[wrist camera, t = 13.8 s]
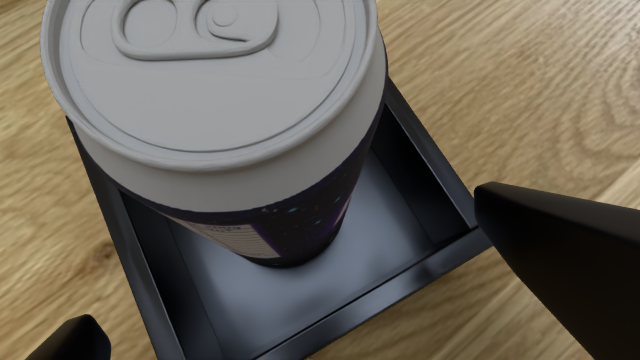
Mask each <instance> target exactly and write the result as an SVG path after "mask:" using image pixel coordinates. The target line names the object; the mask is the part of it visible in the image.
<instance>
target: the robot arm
mask: <svg viewBox="0 0 640 360" xmlns="http://www.w3.org/2000/svg"><path fill="white" fill-rule="evenodd" d="M474 215H475V219H476V222H477V224H478V225H479V227H480V228H481V229H482V231H483V232H484V233H485V235H486V236H487V237H488V239H489V240H490V241H491V243H492V244H493V245H494V247H495V248H496V249H497V251H498V252H499V253H500V255H501V256H502V257H503V259H504V260H505V261H506V263H507V264H508V265H509V267H510V268H511V269H512V270H513V272H514V273H515V274H516V275H517V276H518V277H519V279H520V280H521V281H522V282H523V283H524V284H525V285H526V286H527V287H528V288H529V289H530V291H531V292H532V293H533V294H534V295H535V296H536V297H537V298H538V299H539V300H540V301H541V302H542V303H543V305H544V306H545V307H546V308H547V309H548V310H549V311H550V312H551V313H552V314H553V315H554V316H555V317H556V319H557V320H558V321H559V322H560V323H561V324H562V325H563V326H564V327H565V328H566V329H567V330H568V331H569V332H570V334H571V335H572V336H573V337H574V338H575V339H576V340H577V341H578V342H579V343H580V344H581V345H582V346H583V348H584V349H585V350H586V351H587V352H588V353H589V354H590V355H591V356H592V357H593V358H594V359H595V360H640V210H637V209H632V208H627V207H622V206H617V205H611V204H606V203H601V202H596V201H591V200H586V199H580V198H575V197H570V196H565V195H560V194H555V193H549V192H544V191H539V190H534V189H529V188H524V187H518V186H513V185H508V184H503V183H498V182H488V183H485V184H482V185H479V186H477V187H476V188H475V190H474ZM110 357H111V343H110V340H109V338H108V337H107V335H106V334H105V332H104V331H103V330H102V328H101V327H100V326H99V324H98V323H97V321H96V320H95V319H94V318H93V317H92V316H91V315H89V314H84V315H81V316H78V317H75V318H72V319H69V320H67V321H66V322H64V323H63V324H62V325H61V326H60V327H59V328H58V329H57V330H56V331H55V332H54V333H53V334H52V335H51V336H49V337H48V338H47V339H46V340H45V341H44V342H43V343H42V344H41V345H40V346H39V347H38V348H37V349H36V350H34V351H33V352H32V353H31V354H30V355H29V356H28V357H27V358H26V359H25V360H110Z"/></svg>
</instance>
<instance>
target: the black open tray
mask: <svg viewBox="0 0 640 360" xmlns="http://www.w3.org/2000/svg"><path fill="white" fill-rule="evenodd" d="M65 117H66V120H67V122H68V125H69V127H70V130H71V132H72V135H73V137H74V140H75V143H76V145H77V148H78V151H79V153H80V156H81V159H82V161H83V164H84V166H85V169H86V172H87V174H88V177H89V180H90V182H91V185H92V187H93V190H94V193H95V195H96V198H97V201H98V203H99V206H100V209H101V211H102V214H103V216H104V219H105V222H106V224H107V227H108V230H109V232H110V235H111V238H112V240H113V243H114V245H115V248H116V251H117V253H118V256H119V259H120V261H121V264H122V266H123V269H124V272H125V274H126V277H127V280H128V282H129V285H130V288H131V290H132V293H133V295H134V298H135V301H136V303H137V306H138V309H139V311H140V314H141V317H142V319H143V322H144V324H145V327H146V330H147V332H148V335H149V338H150V340H151V343H152V346H153V348H154V351H155V353H156V356H157V359H158V360H305V359H306V358H308V357H310V356H311V355H313V354H315V353H316V352H318V351H320V350H321V349H323V348H325V347H326V346H328V345H330V344H331V343H333V342H335V341H336V340H338V339H340V338H341V337H343V336H345V335H346V334H348V333H350V332H351V331H353V330H355V329H356V328H358V327H359V326H361V325H363V324H364V323H366V322H368V321H369V320H371V319H373V318H374V317H376V316H378V315H379V314H381V313H383V312H384V311H386V310H388V309H389V308H391V307H393V306H394V305H396V304H398V303H399V302H401V301H403V300H404V299H406V298H408V297H409V296H411V295H413V294H414V293H416V292H417V291H419V290H421V289H422V288H424V287H426V286H427V285H429V284H431V283H432V282H434V281H436V280H437V279H439V278H441V277H442V276H444V275H446V274H447V273H449V272H451V271H452V270H454V269H456V268H457V267H459V266H461V265H462V264H464V263H466V262H467V261H469V260H471V259H472V258H474V257H475V256H477V255H479V254H480V253H482V252H484V251H485V250H487V249H489V248H490V247H492V246H494V245H493V244H492V243H491V241H490V240H489V239H488V237H487V236H486V235H485V233H484V232H483V231H482V229H481V228H480V227H479V225H478V224H477V222H476V219H475V215H474V198H473V197H472V195H471V194H470V192H469V191H468V189H467V188H466V187H465V185H464V184H463V182H462V181H461V179H460V178H459V177H458V175H457V174H456V172H455V171H454V169H453V168H452V166H451V165H450V164H449V162H448V161H447V159H446V158H445V156H444V155H443V154H442V152H441V151H440V149H439V148H438V146H437V145H436V143H435V142H434V141H433V139H432V138H431V136H430V135H429V133H428V132H427V130H426V129H425V128H424V126H423V125H422V123H421V122H420V120H419V119H418V118H417V116H416V115H415V113H414V112H413V110H412V109H411V107H410V106H409V105H408V103H407V102H406V100H405V99H404V97H403V96H402V95H401V93H400V92H399V90H398V89H397V87H396V86H395V84H394V83H393V82H392V80H391V79H390V77H389V76H388V88H387V94H386V100H385V104H384V107H383V111H382V114H381V117H380V119H379V122H378V125H377V128H376V131H375V133H374V136H373V139H372V142H371V145H370V147H369V150H368V153H367V156H366V158H365V161H364V164H363V167H362V170H361V172H360V175H359V178H358V181H357V184H356V186H355V189H354V192H353V195H352V198H351V200H350V203H349V206H348V209H347V212H346V214H345V217H344V220H343V223H342V225H341V228H340V230H339V232H338V234H337V235H336V237H335V238H334V240H333V241H332V242H331V244H330V245H329V246H328V247H327V248H326V249H325V250H324V251H323V252H322V253H320V254H319V255H318V256H316V257H314V258H313V259H311V260H309V261H307V262H305V263H302V264H299V265H296V266H291V267H284V268H272V267H265V266H261V265H258V264H255V263H252V262H250V261H248V260H246V259H244V258H243V257H241V256H239V255H237V254H235V253H233V252H231V251H230V250H228V249H226V248H224V247H222V246H220V245H218V244H217V243H215V242H213V241H211V240H209V239H207V238H205V237H204V236H202V235H200V234H198V233H196V232H194V231H192V230H191V229H189V228H187V227H185V226H183V225H181V224H179V223H178V222H176V221H174V220H172V219H170V218H168V217H166V216H165V215H163V214H161V213H159V212H157V211H155V210H154V209H152V208H150V207H148V206H146V205H144V204H142V203H141V202H139V201H137V200H135V199H133V198H132V197H130V196H129V195H127V194H125V193H124V192H122V191H121V190H120V189H118V188H117V187H116V186H114V185H113V184H112V183H111V182H110V181H109V180H108V179H107V178H106V177H104V175H103V174H102V173H101V172H100V171H99V170H98V169H97V168H96V166H95V165H94V164H93V163H92V161H91V160H90V159H89V157H88V155H87V154H86V152H85V150H84V149H83V147H82V145H81V143H80V141H79V139H78V136H77V134H76V131H75V128H74V125H73V123H72V121H71V120H70V119H69V118H68V116H67V115H66V116H65Z"/></svg>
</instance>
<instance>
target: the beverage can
mask: <svg viewBox="0 0 640 360" xmlns="http://www.w3.org/2000/svg"><path fill="white" fill-rule="evenodd" d="M40 52H41V61H42V65H43V69H44V73H45V77H46V80H47V82H48V84H49V86H50V88H51V90H52V93H53V95H54V97H55V99H56V101H57V102H58V104H59V105H60V107H61V108H62V110H63V111H64V112H65V114H66V115H67V116H68V118H69V119H70V120H71V121H72V123H73V125H74V128H75V131H76V134H77V136H78V139H79V141H80V143H81V145H82V147H83V149H84V150H85V152H86V154H87V155H88V157H89V159H90V160H91V161H92V163H93V164H94V165H95V166H96V168H97V169H98V170H99V171H100V172H101V173H102V174H103V175H104V177H106V178H107V179H108V180H109V181H110V182H111V183H112V184H113V185H114V186H116V187H117V188H118V189H120V190H121V191H122V192H124V193H125V194H127V195H129V196H130V197H132V198H133V199H135V200H137V201H139V202H141V203H142V204H144V205H146V206H148V207H150V208H152V209H154V210H155V211H157V212H159V213H161V214H163V215H165V216H166V217H168V218H170V219H172V220H174V221H176V222H178V223H179V224H181V225H183V226H185V227H187V228H189V229H191V230H192V231H194V232H196V233H198V234H200V235H202V236H204V237H205V238H207V239H209V240H211V241H213V242H215V243H217V244H218V245H220V246H222V247H224V248H226V249H228V250H230V251H231V252H233V253H235V254H237V255H239V256H241V257H243V258H244V259H246V260H248V261H250V262H252V263H255V264H258V265H261V266H265V267H272V268H284V267H291V266H296V265H299V264H302V263H305V262H307V261H309V260H311V259H313V258H314V257H316V256H318V255H319V254H320V253H322V252H323V251H324V250H325V249H326V248H327V247H328V246H329V245H330V244H331V242H332V241H333V240H334V238H335V237H336V235H337V234H338V232H339V230H340V228H341V225H342V223H343V220H344V217H345V214H346V212H347V209H348V206H349V203H350V200H351V198H352V195H353V192H354V189H355V186H356V184H357V181H358V178H359V175H360V172H361V170H362V167H363V164H364V161H365V158H366V156H367V153H368V150H369V147H370V145H371V142H372V139H373V136H374V133H375V131H376V128H377V125H378V122H379V119H380V117H381V114H382V111H383V107H384V104H385V100H386V94H387V88H388V60H387V53H386V48H385V44H384V41H383V37H382V34H381V32H380V29H379V27H378V16H377V6H376V1H375V0H48V2H47V4H46V7H45V10H44V13H43V19H42V25H41V31H40Z"/></svg>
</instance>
